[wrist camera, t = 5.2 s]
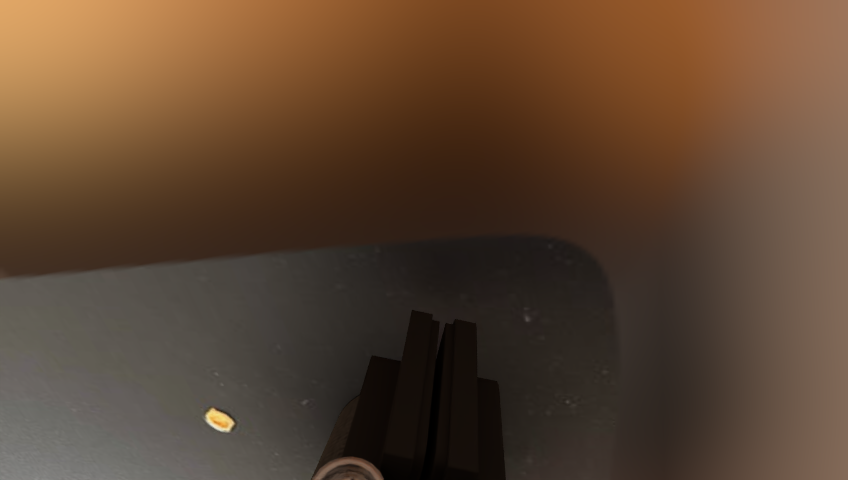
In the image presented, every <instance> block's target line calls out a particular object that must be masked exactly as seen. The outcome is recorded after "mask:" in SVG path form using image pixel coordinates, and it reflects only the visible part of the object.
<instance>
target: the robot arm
mask: <svg viewBox="0 0 848 480" xmlns="http://www.w3.org/2000/svg"><path fill="white" fill-rule="evenodd" d="M432 316H433V315H432V314H429V313H424V312H419V311H414V310H412V313H411V318H410V323H409V327H408V332H407V337H406V342H405V346H404V351H403V356H402V361H396V360H392V359H387V358H382V357H377V356H372V357H371V359H370V363H369V366H368V369H367V373H366V376H365V380H364V383H363V386H362V390H361V393H360V397H359V400H358V403H357V407H356V410H355V414H354V417H353V420H352V424H351V427H350V431H349V434H348V437H347V441H346V444H345V448H344V451H343V455H342V457H340V458H337V459H335V460H332V461H330V462H328V463H327V464H325V465H324V466H323V467H322V468H320V469H319V470H318V472H317V473H316V474H315V476H314V477H313V479H312V480H506V477H505V463H504V450H503V436H502V422H501V408H500V394H499V385H498V382H497V381H493V380H488V379H483V378H478V377H477V327H476V323H472V322H467V321H462V320H458V319H455V320H454V323H453V324H449V323H446V324H445V327H444V331H443V335H442V339H441V342H440V346H439V350H438V354H437V358H436V353H437V343H438V334H439V324H440V322H439V321H434V320H432Z"/></svg>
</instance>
